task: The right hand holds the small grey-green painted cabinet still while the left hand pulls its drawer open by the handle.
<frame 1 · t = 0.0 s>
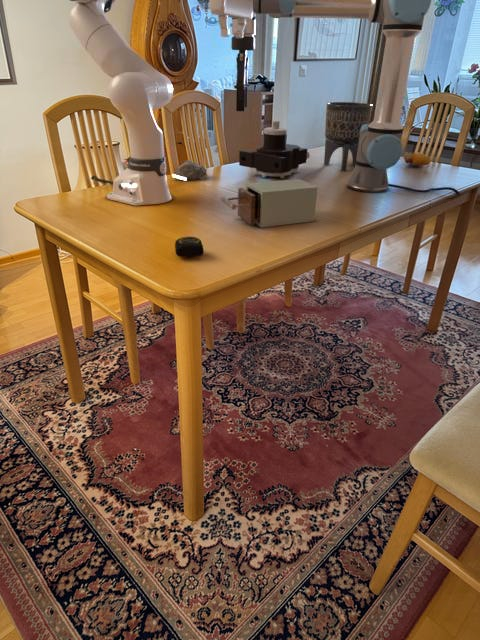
left hand: (232, 37, 123), 48 cm above the table, tool pointing down, fingers open, 8 cm apart
right hand: (241, 109, 155), 28 cm above the table, tool pointing down, fingers open, 13 cm apart
planter: (341, 167, 211), on the table
cabinet: (279, 218, 141), on the table
drawer: (261, 204, 136), point 5 cm above the table, slide at 1.8 cm
toy: (415, 165, 218), on the table
mechanical component: (280, 173, 196), on the table
tape measure: (190, 256, 114), on the table
rock: (192, 178, 185), on the table
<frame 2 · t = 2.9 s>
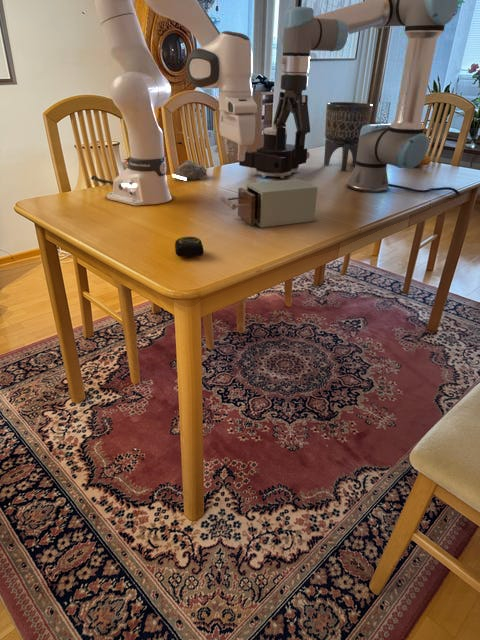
left hand: (235, 157, 127), 19 cm above the table, tool pointing down, fingers open, 8 cm apart
right hand: (288, 153, 137), 18 cm above the table, tool pointing down, fingers open, 13 cm apart
nothing on the table moved.
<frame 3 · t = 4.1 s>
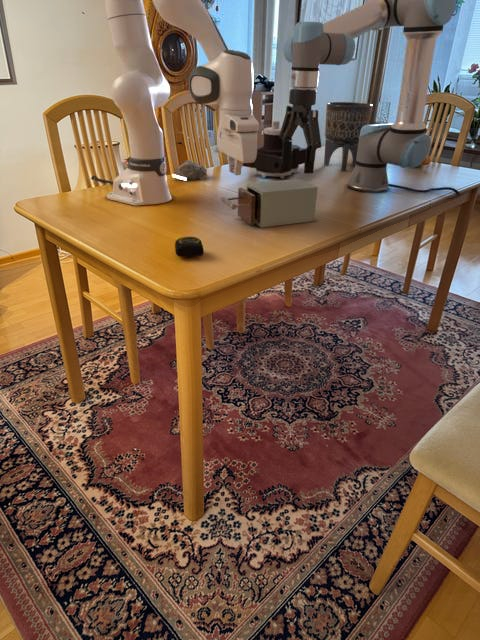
left hand: (234, 173, 128), 15 cm above the table, tool pointing down, fingers closed
right hand: (296, 168, 135), 15 cm above the table, tool pointing down, fingers open, 13 cm apart
nothing on the table moved.
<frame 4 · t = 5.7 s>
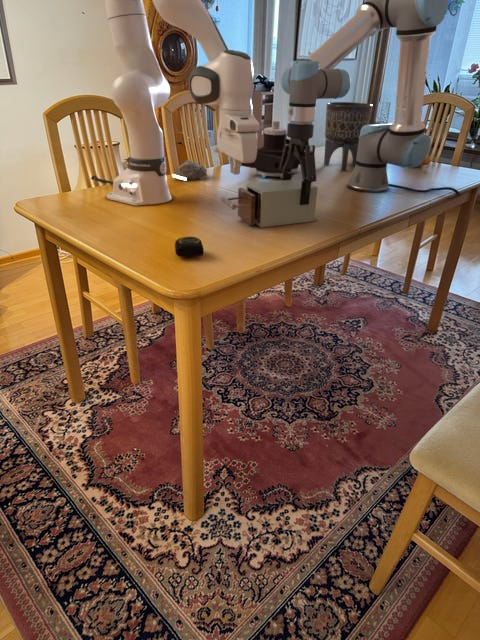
left hand: (234, 173, 128), 15 cm above the table, tool pointing down, fingers closed
right hand: (294, 199, 140), 6 cm above the table, tool pointing down, fingers closed on cabinet, 11 cm apart
cabinet: (279, 218, 141), on the table, touching right hand
everything else where it was.
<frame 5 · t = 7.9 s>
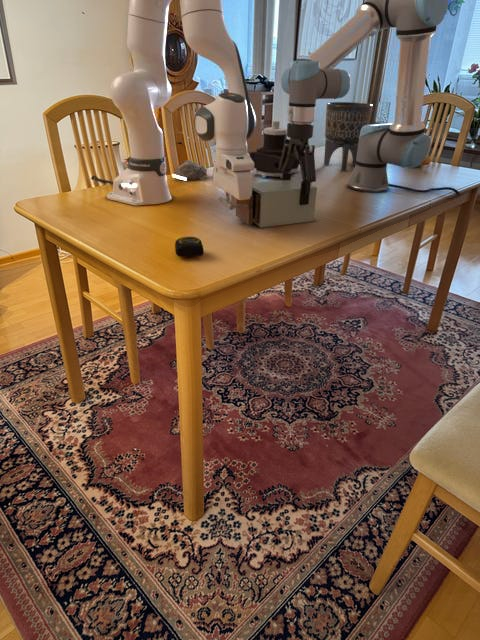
left hand: (231, 207, 133), 5 cm above the table, tool pointing down, fingers closed, pressing on drawer
right hand: (294, 199, 140), 6 cm above the table, tool pointing down, fingers closed on cabinet, 11 cm apart
cabinet: (279, 218, 141), on the table, touching right hand
drawer: (259, 204, 136), point 5 cm above the table, slide at 2.4 cm, touching left hand
everything else where it was.
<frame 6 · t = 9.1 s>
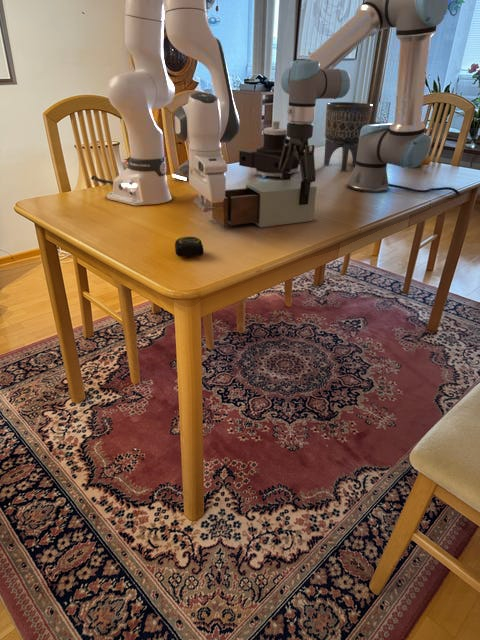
left hand: (206, 210, 130), 5 cm above the table, tool pointing down, fingers closed, pressing on drawer
right hand: (293, 199, 140), 6 cm above the table, tool pointing down, fingers closed on cabinet, 11 cm apart
cabinet: (278, 218, 141), on the table, touching right hand
drawer: (235, 206, 133), point 5 cm above the table, slide at 10.0 cm, touching left hand
everything else where it was.
when the right hand's fingers open (6 cm above the table, at t = 10.7 s): cabinet stays where it is, on the table.
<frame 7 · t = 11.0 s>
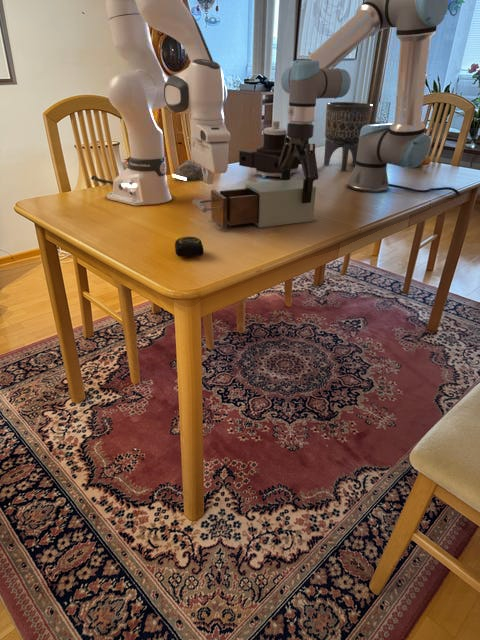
left hand: (208, 183, 127), 13 cm above the table, tool pointing down, fingers closed
right hand: (295, 197, 140), 6 cm above the table, tool pointing down, fingers open, 13 cm apart
cabinet: (278, 218, 141), on the table
drawer: (234, 207, 133), point 5 cm above the table, slide at 10.1 cm
everything else where it was.
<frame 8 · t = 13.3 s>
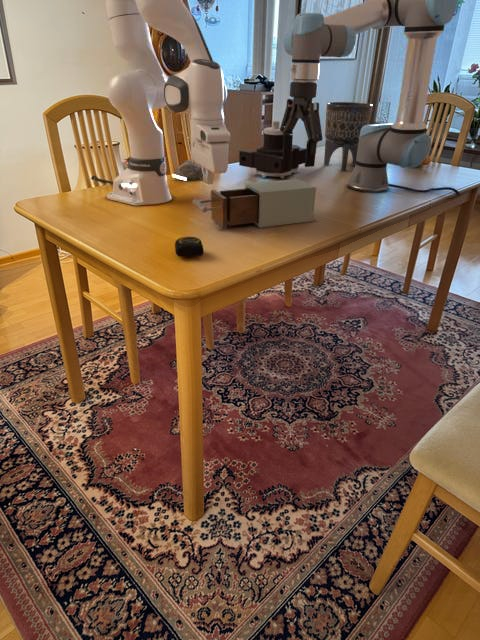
left hand: (208, 183, 127), 13 cm above the table, tool pointing down, fingers closed
right hand: (297, 162, 135), 17 cm above the table, tool pointing down, fingers open, 13 cm apart
nothing on the table moved.
at the end: drawer slide at 10.1 cm; cabinet tilted 0°; cabinet never tilted more than 3° during the clip; cabinet moved 0.4 cm from its start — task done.
